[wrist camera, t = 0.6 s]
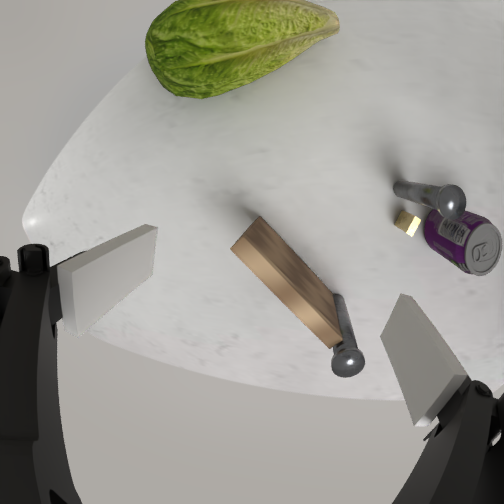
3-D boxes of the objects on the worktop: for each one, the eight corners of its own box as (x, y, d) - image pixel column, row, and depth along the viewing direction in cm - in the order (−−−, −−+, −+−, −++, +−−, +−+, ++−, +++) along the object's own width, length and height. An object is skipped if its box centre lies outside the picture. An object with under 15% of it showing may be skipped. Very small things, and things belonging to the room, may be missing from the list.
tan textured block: (407, 213, 35) (421, 220, 30) (399, 228, 35) (412, 236, 31) (402, 210, 35) (415, 216, 30) (394, 224, 35) (406, 232, 31)
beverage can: (428, 257, 36) (466, 289, 24) (416, 213, 34) (457, 232, 23) (463, 240, 34) (506, 265, 23) (453, 197, 32) (500, 210, 21)
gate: (332, 292, 39) (342, 339, 27) (317, 304, 40) (321, 354, 28) (260, 215, 37) (243, 236, 26) (245, 229, 38) (222, 256, 27)
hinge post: (351, 298, 40) (371, 358, 26) (338, 316, 41) (351, 381, 27) (331, 287, 40) (344, 347, 26) (319, 307, 41) (325, 370, 27)
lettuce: (346, 90, 32) (375, 32, 19) (173, 121, 34) (128, 73, 21) (316, 19, 31) (326, -40, 18) (166, 46, 33) (133, -6, 20)
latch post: (414, 185, 33) (470, 197, 19) (404, 204, 34) (457, 226, 20) (396, 173, 33) (448, 178, 19) (387, 193, 34) (434, 208, 20)
